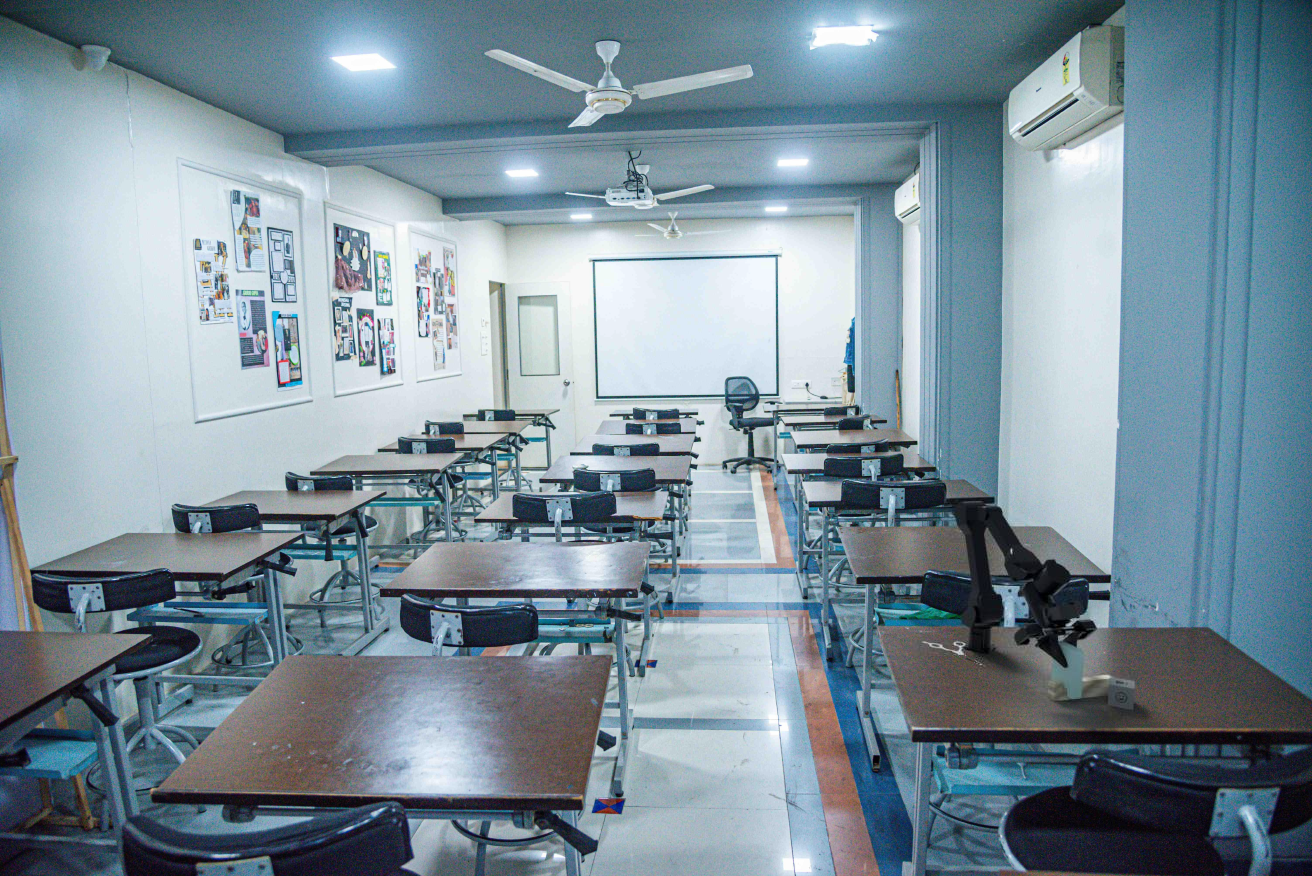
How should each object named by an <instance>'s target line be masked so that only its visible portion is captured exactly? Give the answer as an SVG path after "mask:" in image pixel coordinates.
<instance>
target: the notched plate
mask: <svg viewBox="0 0 1312 876" xmlns="http://www.w3.org/2000/svg"><path fill="white" fill-rule="evenodd" d="M1058 643H1059V646H1060V648H1061V650H1062V652H1063V654H1064V656H1065V658H1066V661H1067V664H1068V667H1067V668H1064V667H1063V666H1061V665H1060V664H1059V663H1058V662H1057V661H1056V660H1054V659H1053V658H1052V663H1051V666H1052V667H1051V680H1050V681H1053V680H1057V681H1059V682H1061V683H1062V688H1065V687H1067V697H1069V698H1071V699H1070V700H1076V699H1077V700H1078V699H1082V698H1081V694H1082V678H1083V677H1084V676H1083V675H1084V663H1085V662H1084V661H1085V650H1083V649H1080V648H1079V647H1078V646H1077V647H1074V646H1072V645H1070V644H1068V643H1066V642H1064V641H1061V640H1058Z"/></svg>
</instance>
